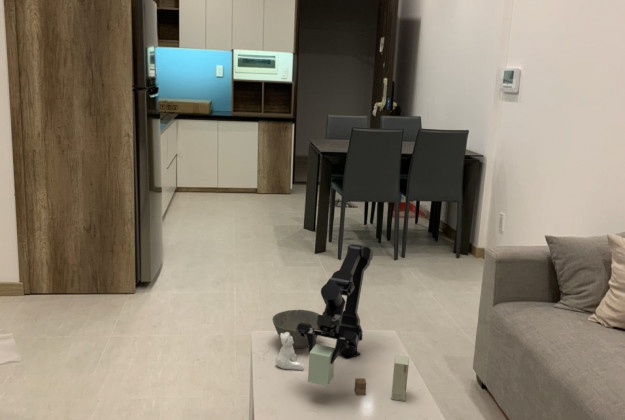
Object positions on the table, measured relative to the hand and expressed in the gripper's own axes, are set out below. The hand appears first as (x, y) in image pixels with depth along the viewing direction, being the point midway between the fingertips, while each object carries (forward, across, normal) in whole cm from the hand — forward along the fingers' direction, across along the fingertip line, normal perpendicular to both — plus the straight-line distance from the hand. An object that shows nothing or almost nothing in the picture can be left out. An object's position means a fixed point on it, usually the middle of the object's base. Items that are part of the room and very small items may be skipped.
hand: (320, 361), depth 185 cm
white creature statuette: (-3, -16, +22) cm, 27 cm away
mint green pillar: (+4, 0, +6) cm, 7 cm away
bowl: (-14, -18, +33) cm, 40 cm away
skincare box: (0, +22, +19) cm, 29 cm away
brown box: (+2, +11, +16) cm, 20 cm away
